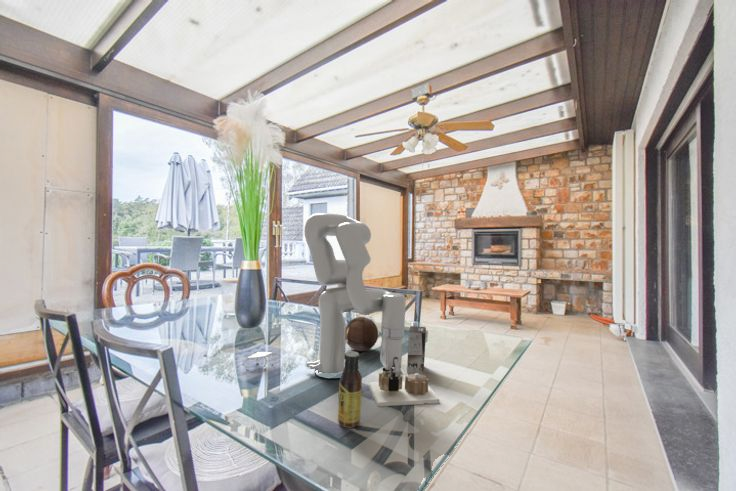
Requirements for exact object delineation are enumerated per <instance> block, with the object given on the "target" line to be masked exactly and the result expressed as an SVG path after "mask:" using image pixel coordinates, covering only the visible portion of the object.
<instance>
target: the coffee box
mask: <svg viewBox="0 0 736 491" xmlns="http://www.w3.org/2000/svg"><path fill="white" fill-rule="evenodd" d="M408 330H409V331H408V341H407V342H408V343H407V345H408V346H407V359H406V360H407V362H406V363H407V364H406V374H415V373H418V374H420V375H423V376H424V368H425V359H426V358H425V355H426V337H427V336H426V335H427V334H426V333H427V332H426V331H427V327H426V326H417V325H416V326H413V325H412V326H410V327H409V329H408Z"/></svg>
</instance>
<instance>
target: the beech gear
mask: <svg viewBox="0 0 736 491" xmlns="http://www.w3.org/2000/svg"><path fill="white" fill-rule="evenodd" d="M393 373H395V372H394V371H392V374H393ZM389 374H390V372H389V371H383V370H382V372H379V373H378V382H379V386H380V389H381V390H384V391H387V392H389V393H390V392H399V390H400V389H402V381H403V375H402V373H401V372H400V374H399V390H398V391H389V390H388V386H389V378H390V377H389V376H388V375H389Z"/></svg>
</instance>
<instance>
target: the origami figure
mask: <svg viewBox="0 0 736 491" xmlns="http://www.w3.org/2000/svg"><path fill="white" fill-rule="evenodd" d="M270 356H272V358H273V359H274V360H273V361H272V362H270V364H271V365H272V364H274V362H276V361H277V357H276V355H275V352H274V351H257V352H256V353H255V352H254V353H253V354H252V355H250V356H247V357H246V360H245V361H244V362H242V364H241V366H243V367H244V368H245V369H247V368H248V369H249V367H248V366H246V365H245V364H246V363H247V362H248V361H249V360H256V364H257V363H258V364H259V360H260V359H264V364H263V368H264V367H266V365H267V364H268V359H267V357H270Z"/></svg>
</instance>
